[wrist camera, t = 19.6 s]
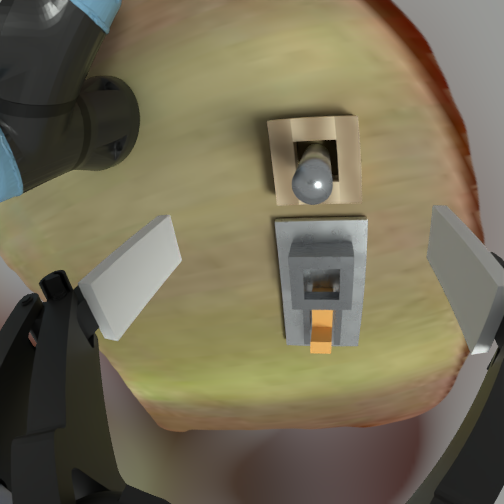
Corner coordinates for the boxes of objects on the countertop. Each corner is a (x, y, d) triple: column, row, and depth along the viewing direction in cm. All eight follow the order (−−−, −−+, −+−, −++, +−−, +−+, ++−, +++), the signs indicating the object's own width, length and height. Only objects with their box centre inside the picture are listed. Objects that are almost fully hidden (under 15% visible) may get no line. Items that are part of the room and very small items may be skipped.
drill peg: (305, 169, 35) (293, 205, 23) (302, 144, 34) (289, 165, 22) (330, 168, 34) (333, 204, 22) (328, 143, 33) (331, 164, 21)
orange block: (313, 330, 45) (310, 353, 41) (312, 288, 41) (309, 310, 37) (332, 330, 44) (330, 353, 40) (333, 288, 40) (333, 310, 36)
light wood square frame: (281, 196, 37) (277, 205, 34) (272, 119, 33) (266, 121, 30) (358, 194, 35) (362, 203, 32) (354, 115, 30) (357, 115, 27)
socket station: (287, 339, 49) (283, 362, 44) (276, 218, 39) (269, 234, 35) (357, 341, 46) (358, 363, 41) (366, 216, 36) (371, 232, 31)
